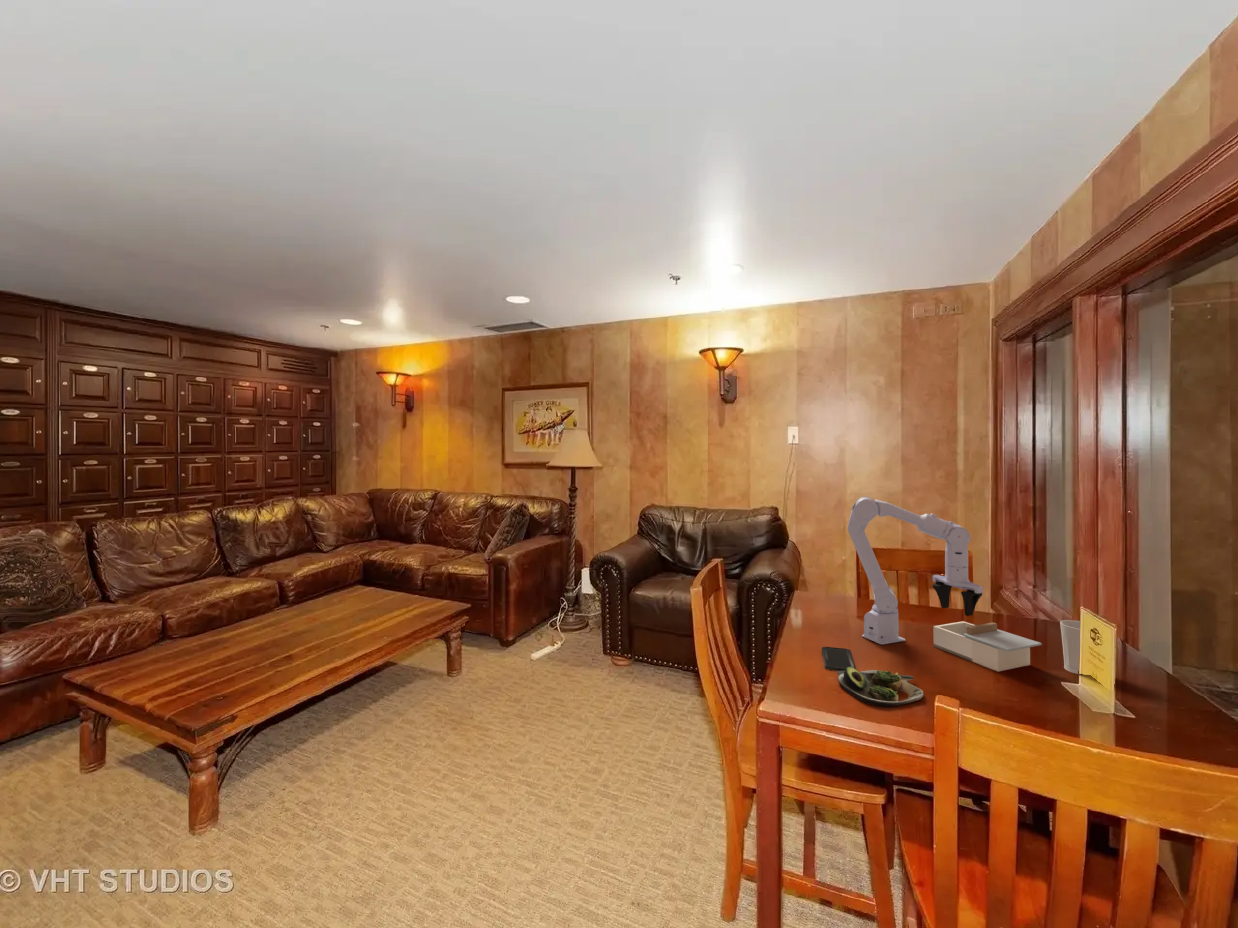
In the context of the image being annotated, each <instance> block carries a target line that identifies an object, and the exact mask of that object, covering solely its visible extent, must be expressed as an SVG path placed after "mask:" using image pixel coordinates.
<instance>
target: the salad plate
mask: <svg viewBox="0 0 1238 928" xmlns="http://www.w3.org/2000/svg"><path fill="white" fill-rule="evenodd" d="M834 673H836V674H837V675H838V677H837V682H838V684H839V685H840V687H841V689H842V690H844V691H845V692H847V694H849V695H851V696H853V697H854V698H856V699H857V700H858V701H860V702H863V703H865V704H867V705H871V706H874V707H875V706H876V707H882V708H883V707H884V708H885V707H888V708H889V707H890V708H891V707H899V706H901V705H906V704H907V705H908V704H910V703H913V702H916V701H919V700H921V699H922V698H923V697H924V696H925V695H924V691H923V690H922V689H921V688H919V687H917V686H916V685H913V684H912V683H910V682H909V681H911V680H912V681H913V680H914V679H915V677H914V676H913V675H905V674H899V672H898V671H897V672H895V673H892V672H891V671H890V670H888V671H886V670H879V669H878V670H876V669H869V670H864V671H860V670H858V669H855V668H853V667H847V668H846V669H845V671H835V672H834ZM898 692H903V693H906V694H907V695H908V697H907V698H906V699H904V700H900V701H899V695H898Z"/></svg>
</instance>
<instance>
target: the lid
mask: <svg viewBox="0 0 1238 928" xmlns="http://www.w3.org/2000/svg"><path fill="white" fill-rule="evenodd" d="M973 625H974V626H968V627H967V633H965V634H962V636H965V637H968V638H970V639H973V640H976V641H979V642H982V643H985V644H988V645H990V646H993V647H996V648H999V649H1002V650H1005V651H1007V652H1008V651H1013V650H1019V649H1024V648H1029V647H1030V648H1033V647H1038V646H1042V643H1041V642H1040V641H1036V640H1032V639H1030V638H1026V637H1023V636H1020V635H1017V634H1014V633H1011V632H1007V631H1005V630H1001V629H998V623H996V622H988V623H987V622H986V623H981V624H973Z"/></svg>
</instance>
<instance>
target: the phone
mask: <svg viewBox="0 0 1238 928" xmlns="http://www.w3.org/2000/svg"><path fill="white" fill-rule="evenodd" d="M821 655H822V660H823V666H824V669H825V670H828V671H835V672H837V671H845V669H846V668H847V667H853V668H855V669H856V664H855V661H854V657H853V654H852V652H851V650H850V649H849V648H845V647H844V648H841V647H834V646H833V647H831V646H822V647H821ZM856 670H857V669H856Z"/></svg>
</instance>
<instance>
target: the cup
mask: <svg viewBox="0 0 1238 928" xmlns="http://www.w3.org/2000/svg"><path fill="white" fill-rule="evenodd" d="M1080 621H1081V620H1072V619H1071V620H1070V619H1064V620H1063V619H1062V620H1060V621H1059V624H1060V634H1061V643H1062V653H1063V664H1064V665H1063V668H1064V670H1066V671H1068V672H1069V673H1072V674H1076V675H1079V674H1078V671H1079V656H1080Z"/></svg>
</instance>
